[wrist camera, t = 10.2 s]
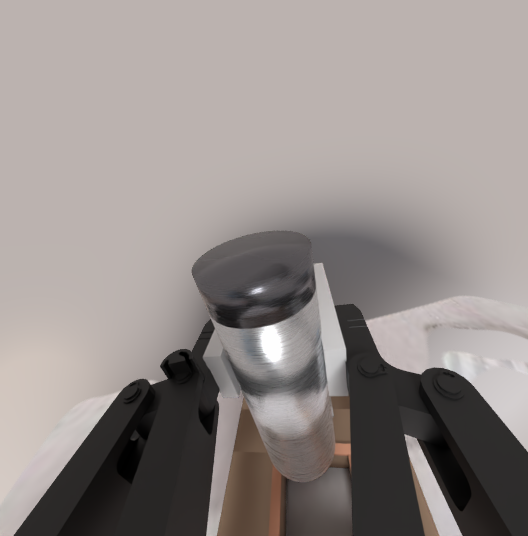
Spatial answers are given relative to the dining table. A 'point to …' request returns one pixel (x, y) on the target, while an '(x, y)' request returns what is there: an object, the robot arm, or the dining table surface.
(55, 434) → the dining table surface
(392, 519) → the robot arm
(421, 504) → the socket board
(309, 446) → the metal cylinder
